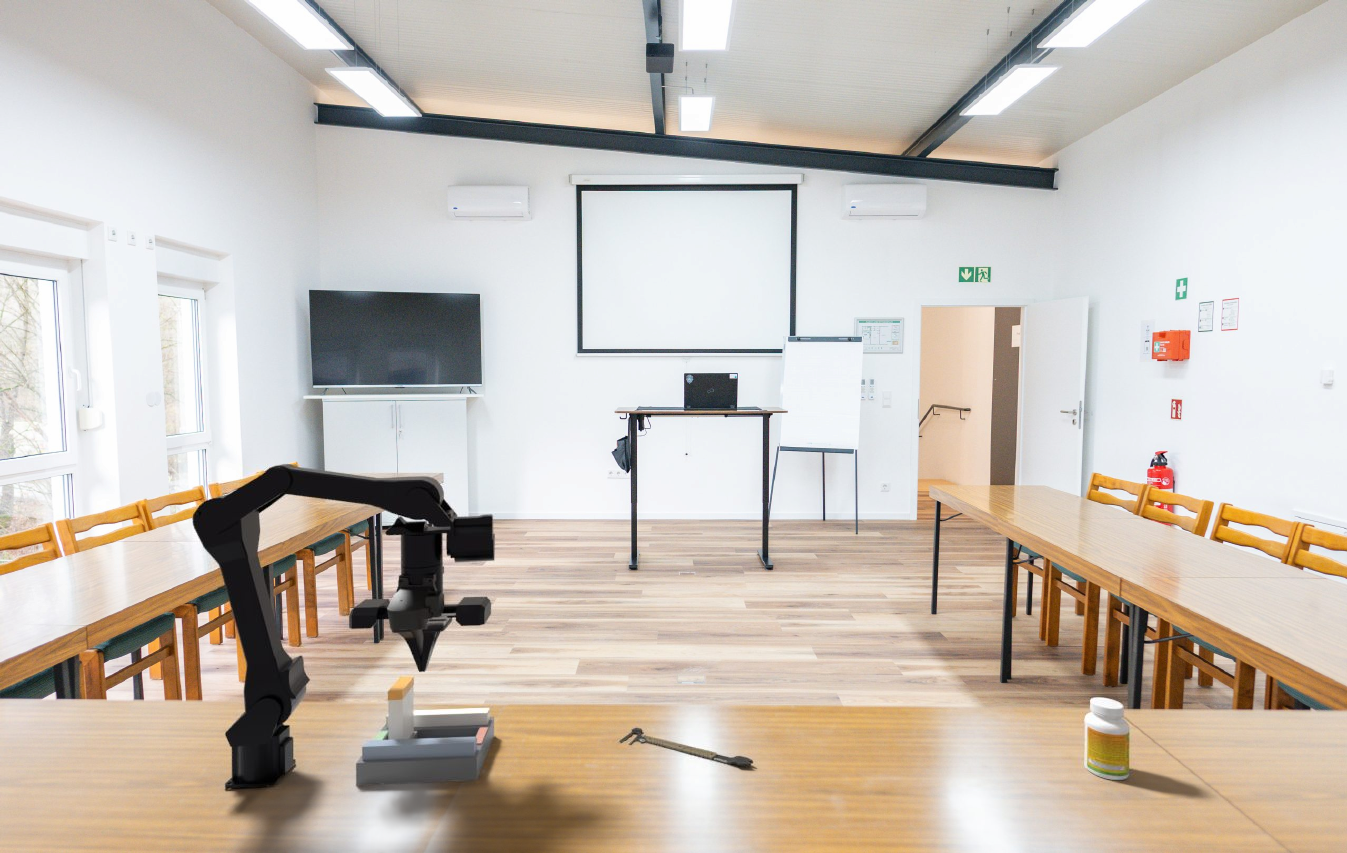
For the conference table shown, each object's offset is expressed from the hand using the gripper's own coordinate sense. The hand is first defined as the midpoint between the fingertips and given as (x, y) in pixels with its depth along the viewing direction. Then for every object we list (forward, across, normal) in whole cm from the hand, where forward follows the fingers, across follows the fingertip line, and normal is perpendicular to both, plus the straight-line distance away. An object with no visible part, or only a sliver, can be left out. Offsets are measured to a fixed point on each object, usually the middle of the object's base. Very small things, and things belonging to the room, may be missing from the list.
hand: (422, 670), depth 99 cm
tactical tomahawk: (+14, +38, -2) cm, 40 cm away
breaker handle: (+11, -3, 0) cm, 12 cm away
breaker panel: (+13, +1, 0) cm, 13 cm away
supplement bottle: (+13, +97, -11) cm, 98 cm away
